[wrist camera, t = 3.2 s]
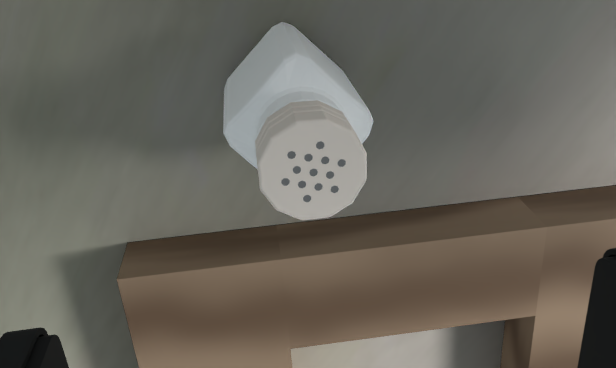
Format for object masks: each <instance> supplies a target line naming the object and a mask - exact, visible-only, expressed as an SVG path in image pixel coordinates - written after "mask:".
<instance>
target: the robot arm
mask: <svg viewBox="0 0 616 368" xmlns="http://www.w3.org/2000/svg"><path fill="white" fill-rule="evenodd" d="M0 368H69V367H68V363H67V360H66V357H65V354H64V351H63V348H62V345H61V342H60V339H59V337H58V336H57V335H49V336H48V334H47V331H46V330H45V329H44V328H34V329H27V330H19V331H12V332H6V333H5V334H3V336H2V337H1V338H0ZM577 368H616V248H612V249H609V250H607V251H606V252H605V253H604V255H603V258H601V259H598V261H597V262H596V265H595V269H594V275H593V280H592V286H591V292H590V298H589V303H588V309H587V315H586V321H585V326H584V332H583V338H582V343H581V349H580V355H579V361H578V366H577Z"/></svg>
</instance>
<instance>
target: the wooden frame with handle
mask: <svg viewBox="0 0 616 368" xmlns="http://www.w3.org/2000/svg"><path fill="white" fill-rule="evenodd" d="M612 248H616V185H615V186H606V187H598V188H589V189H581V190H572V191H564V192H555V193H547V194H538V195H530V196H521V197H513V198H504V199H495V200H487V201H478V202H470V203H461V204H453V205H444V206H436V207H427V208H419V209H410V210H402V211H393V212H385V213H376V214H368V215H359V216H351V217H342V218H334V219H325V220H317V221H308V222H300V223H291V224H283V225H274V226H266V227H257V228H249V229H240V230H232V231H223V232H214V233H206V234H197V235H189V236H180V237H172V238H163V239H155V240H146V241H138V242H129V243H127V246H126V250H125V253H124V257H123V260H122V263H121V267H120V270H119V274H118V277H117V283H118V287H119V291H120V294H121V298H122V302H123V306H124V310H125V314H126V318H127V322H128V326H129V330H130V334H131V338H132V342H133V346H134V350H135V354H136V358H137V362H138V366H139V368H292V360H291V350H290V349H293V348H300V347H307V346H315V345H322V344H330V343H337V342H345V341H352V340H360V339H367V338H374V337H382V336H389V335H397V334H404V333H412V332H419V331H427V330H434V329H441V328H449V327H456V326H464V325H471V324H479V323H486V322H494V321H501V320H505V327H504V337H503V347H502V357H501V366H500V368H577V366H578V361H579V355H580V349H581V343H582V338H583V332H584V326H585V321H586V315H587V309H588V303H589V298H590V292H591V286H592V280H593V275H594V269H595V265H596V262H597V261H598V259H601V258H603V255H604V253H605V252H606V251H607V250H609V249H612Z"/></svg>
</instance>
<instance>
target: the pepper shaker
mask: <svg viewBox="0 0 616 368" xmlns="http://www.w3.org/2000/svg"><path fill="white" fill-rule="evenodd" d="M373 121H374V120H373V118H372V115H371V113H370V111H369V109H368V108H367V106H366V105H365V103H364V102H363V100H362V99H361V97H360V96H359V94H358V93H357V91H356V90H355V88H354V87H353V85H352V84H351V82H350V81H349V79H348V78H347V76H346V75H345V73H344V72H343V70H342V69H341V68H339V67H338V66H337V65H336V64H335V63H334V62H333V61H332V60H331V59H330V58H328V57H327V56H326V55H325V54H324V53H323V52H322V51H321V50H320V49H319V48H317V47H316V46H315V45H314V44H313V43H312V42H311V41H310V40H309V39H308V38H306V37H305V36H304V35H303V34H302V33H301V32H300V31H299V30H298V29H297V28H295V27H294V26H293V25H290V24H288V23H285V22H281V23H279V24H277V25H275V26H273V27H272V28H271V29H270V30H269V31H268V32H267V33H266V35H265V36H264V37H263V38H262V39H261V40H260V42H259V43H258V44H257V45H256V46H255V47H254V48H253V50H252V51H251V52H250V53H249V54H248V55H247V57H246V58H245V59H244V60H243V61H242V62H241V64H240V65H239V66H238V67H237V68H236V69H235V71H234V72H233V73H232V74H231V75H230V76H229V78H228V79H227V82H226V85H225V88H224V121H223V134H224V135H225V137H226V139H227V141H228V143H229V145H230V146H231V147H232V148H233V149H234V150H235V151H236V152H237V153H239V154H240V155H241V156H242V157H243V158H244V159H245V160H247V161H248V162H249V163H250V164H252V165H253V166H254V167H255V168H257V169H258V178H259V187H260V190H261V192H262V193H263V194H264V195H265V197H266V198H267V199H268V201H269V202H270V203H271V204H272V206H273V207H274V208H275V210H277V211H279V212H282V213H284V214H287V215H289V216H292V217H294V218H297V219H299V220H311V219H321V218H329V217H331V216H333V215H334V214H336V213H338V212H339V211H341V210H342V209H344V208H346V207H347V206H349V205H351V204H352V203H353V202H354V200H355V199H356V197H357V195H358V194H359V192H360V190H361V189H362V187H363V185H364V183H365V182H366V180H367V152H366V151H365V149H364V147H363V145H362V144H363V142H364V141H365V140H366V139H367V137H368V136H369V134H370V131H371V128H372V125H373Z"/></svg>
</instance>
